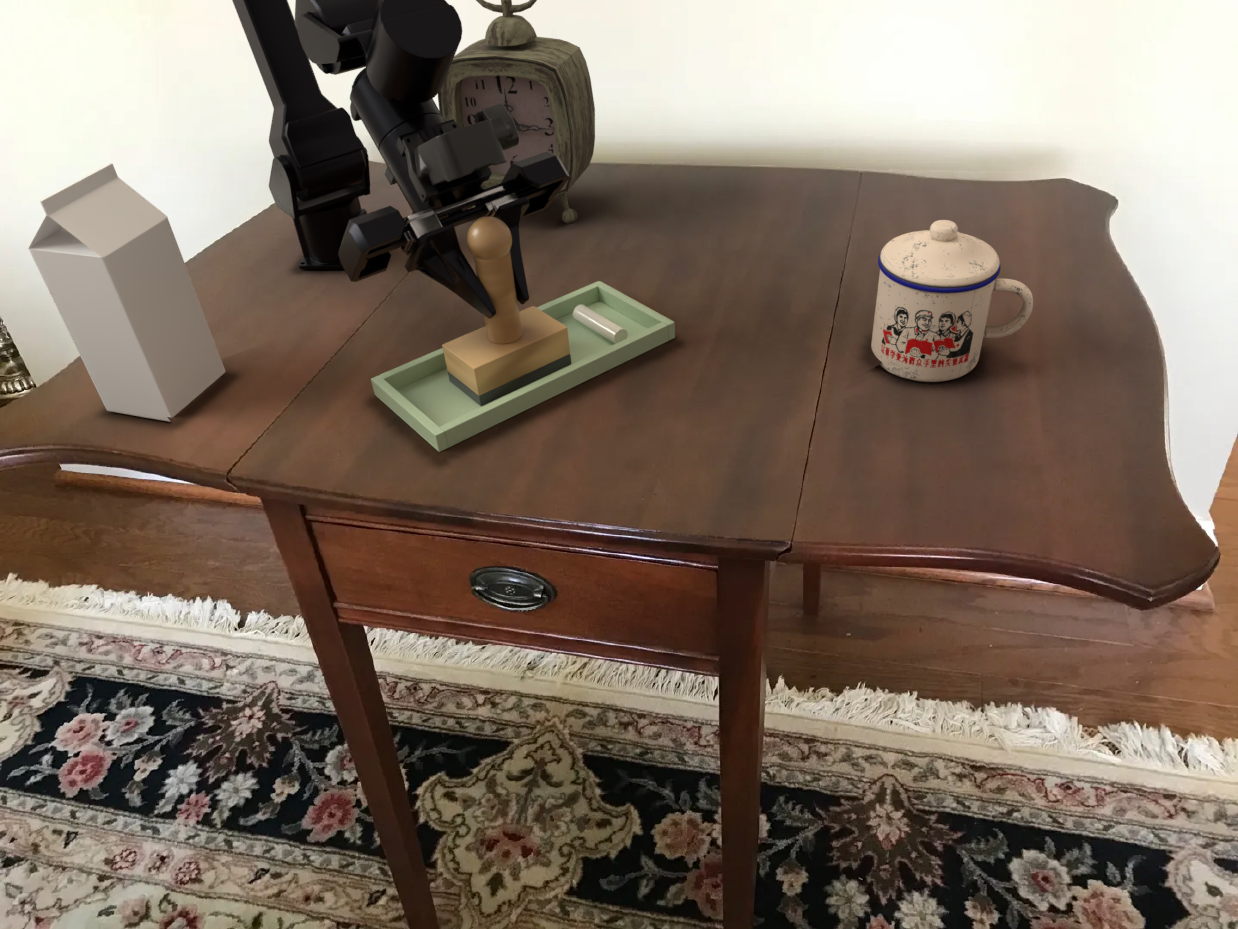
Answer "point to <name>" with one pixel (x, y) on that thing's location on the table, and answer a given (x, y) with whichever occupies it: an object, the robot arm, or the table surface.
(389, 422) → the table surface
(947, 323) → the teacup with lid
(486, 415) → the tray
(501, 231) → the wooden rubber stamp
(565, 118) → the tabletop clock
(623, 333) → the chalk
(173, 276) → the milk carton
